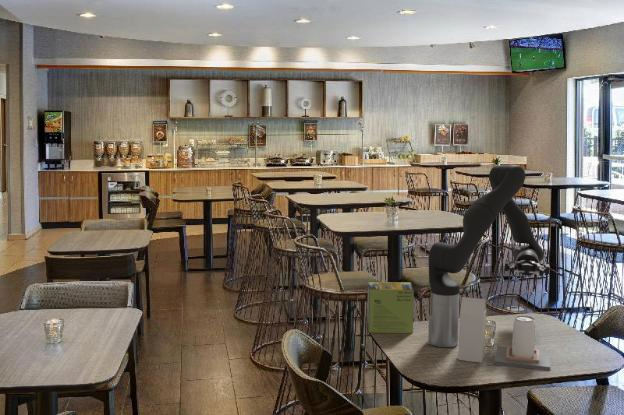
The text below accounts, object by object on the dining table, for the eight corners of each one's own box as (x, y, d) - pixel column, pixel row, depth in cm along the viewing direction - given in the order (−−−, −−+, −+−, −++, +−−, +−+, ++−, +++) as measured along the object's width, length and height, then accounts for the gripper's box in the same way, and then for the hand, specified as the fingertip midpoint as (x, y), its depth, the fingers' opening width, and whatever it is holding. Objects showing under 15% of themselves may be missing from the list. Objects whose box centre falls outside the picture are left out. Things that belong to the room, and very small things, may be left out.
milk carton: (481, 363, 210) (484, 302, 207) (458, 360, 212) (460, 300, 210) (484, 355, 217) (486, 296, 214) (461, 352, 219) (463, 294, 216)
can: (523, 361, 209) (524, 322, 207) (507, 354, 215) (509, 317, 213) (538, 357, 212) (540, 319, 210) (522, 351, 218) (524, 314, 216)
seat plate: (494, 364, 209) (494, 358, 209) (497, 348, 223) (497, 342, 223) (550, 370, 204) (550, 364, 204) (549, 353, 218) (549, 348, 218)
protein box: (413, 333, 238) (414, 289, 236) (368, 333, 238) (369, 289, 236) (409, 324, 249) (410, 281, 246) (366, 323, 249) (367, 281, 247)
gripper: (506, 250, 241) (504, 258, 226) (549, 253, 237) (550, 262, 221) (505, 271, 242) (503, 281, 227) (548, 275, 238) (549, 285, 222)
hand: (526, 271), depth 224 cm, fingers open, 8 cm apart
